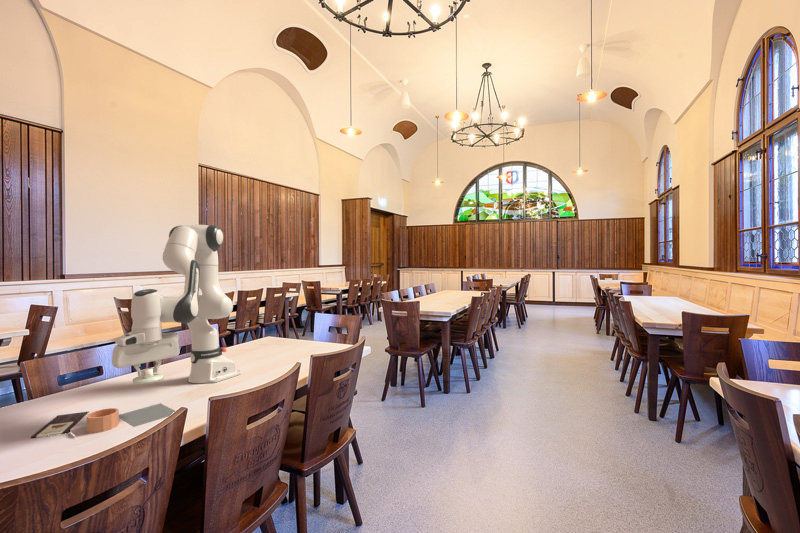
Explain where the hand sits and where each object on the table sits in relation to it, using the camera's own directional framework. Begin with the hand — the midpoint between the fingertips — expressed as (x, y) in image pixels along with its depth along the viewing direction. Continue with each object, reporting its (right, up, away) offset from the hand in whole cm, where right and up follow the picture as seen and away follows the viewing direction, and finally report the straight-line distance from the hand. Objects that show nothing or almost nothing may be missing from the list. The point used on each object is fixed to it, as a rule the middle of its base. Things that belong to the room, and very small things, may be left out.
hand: (148, 374), depth 134 cm
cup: (-8, -15, -11) cm, 20 cm away
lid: (0, -2, 0) cm, 2 cm away
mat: (0, -14, 0) cm, 14 cm away
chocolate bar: (-24, -15, -7) cm, 29 cm away
